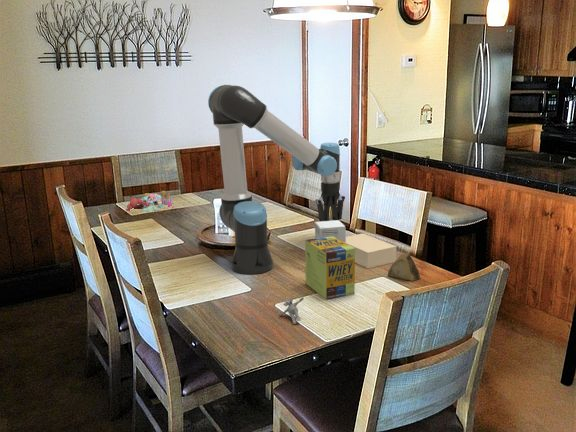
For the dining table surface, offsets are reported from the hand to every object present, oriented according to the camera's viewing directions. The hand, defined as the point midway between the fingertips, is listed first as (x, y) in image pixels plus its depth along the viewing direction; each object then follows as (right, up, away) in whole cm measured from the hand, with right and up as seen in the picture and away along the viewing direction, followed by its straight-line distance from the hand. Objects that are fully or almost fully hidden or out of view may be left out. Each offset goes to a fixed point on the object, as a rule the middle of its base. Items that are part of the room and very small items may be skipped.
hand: (330, 237), depth 231 cm
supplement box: (-2, -10, -30) cm, 32 cm away
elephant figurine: (-16, -21, -69) cm, 73 cm away
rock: (+22, -12, -40) cm, 47 cm away
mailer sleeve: (+12, -7, -19) cm, 24 cm away
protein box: (-4, -15, -48) cm, 50 cm away
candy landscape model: (-89, +12, +62) cm, 109 cm away
